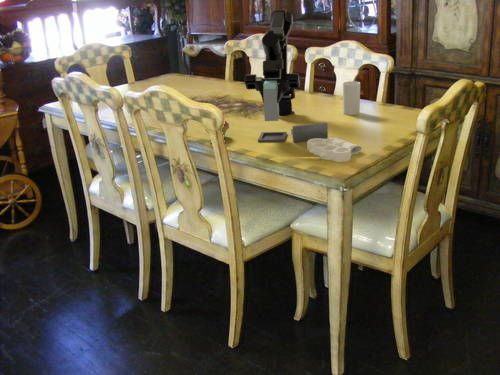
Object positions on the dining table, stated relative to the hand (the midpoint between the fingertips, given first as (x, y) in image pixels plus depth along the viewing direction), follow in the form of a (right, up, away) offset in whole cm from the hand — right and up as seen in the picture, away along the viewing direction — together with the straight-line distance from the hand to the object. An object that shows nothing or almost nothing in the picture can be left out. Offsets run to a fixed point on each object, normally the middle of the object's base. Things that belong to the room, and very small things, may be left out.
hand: (270, 102), depth 205 cm
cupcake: (-18, -12, +11) cm, 24 cm away
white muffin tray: (+19, -18, -11) cm, 29 cm away
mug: (+32, +1, +33) cm, 46 cm away
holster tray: (+1, -12, +6) cm, 13 cm away
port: (+13, -11, +6) cm, 18 cm away
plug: (+1, -5, +4) cm, 6 cm away
